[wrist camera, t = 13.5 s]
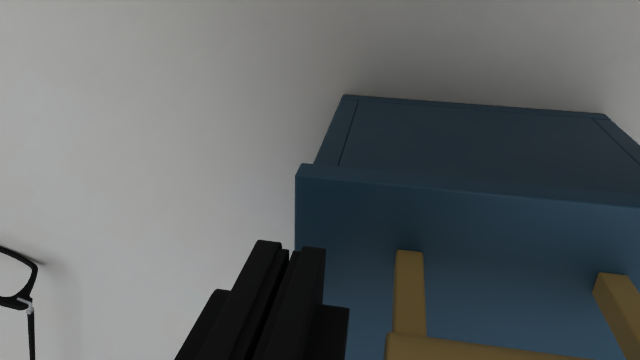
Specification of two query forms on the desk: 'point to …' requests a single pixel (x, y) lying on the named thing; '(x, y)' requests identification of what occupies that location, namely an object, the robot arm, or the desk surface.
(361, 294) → the lid
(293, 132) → the desk surface
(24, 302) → the eyeglasses
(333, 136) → the chest
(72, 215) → the desk surface
